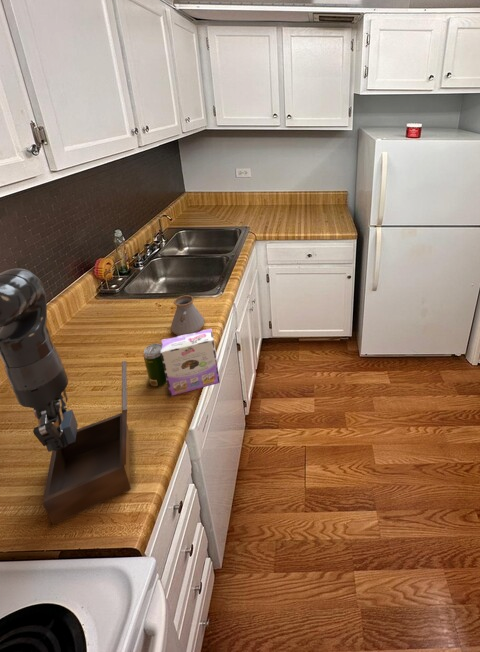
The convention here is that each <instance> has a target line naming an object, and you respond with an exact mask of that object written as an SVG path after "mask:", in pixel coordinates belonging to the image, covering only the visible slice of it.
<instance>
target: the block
mask: <svg viewBox="0 0 480 652" xmlns="http://www.w3.org/2000/svg"><path fill="white" fill-rule="evenodd" d="M62 414H63V421H62V423H61V424H62V428H63V432H64V434H65V437H66V439H67V442H68V443H67V445H68V444H71V443H73V442H75V441H76V433H77V429H78V427H79V426H78V421H77V419H76V416H75V413H74V410H73V409H70V410H67V411H66V412H63V413H62ZM57 418H58V417H56V418H54V419H52V420H55V419H57ZM52 420H49V421H52ZM55 427H56V426H55ZM56 429H57V427H56ZM45 447H46V449H47V452H52V450H53V448H52V446H51V444H48V445H46V446H45Z"/></svg>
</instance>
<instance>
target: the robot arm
mask: <svg viewBox="0 0 480 652" xmlns="http://www.w3.org/2000/svg"><path fill="white" fill-rule="evenodd" d="M47 322H48V306H47V293H46V289H45V286H44V283H43V282H42V279H40V278H39V276H38V275H36V274H35V273H34V272H32V271H31V270H28V269H25V268H21V267H20V268H11V269H7V270H5V271H2V272H0V358H1V361H2V363H3V365H4V370H5V373H6V377H7V379H8V382H9V384H10V386H11V388H12V390H13V393H14V395H15V398H16V400H17V402H18V404H19V405H20V406H21V407H24V408H29V409H33V415H34V418H36V420H37V424H38V426H35V427H33V430H32V433H33V435H34V436H35V437H36V438H37V440H38V441H39V442H40V443H41V445H42V446H43V447H46V445H48V444H51V446H52V448H53V450H54V451H57V450H60V449H63V448H65V447H67V443H68V442H67V439H66V437H65V434H64V432H63V428H62V424H61V423H62V421H63V414H62V413H63V412H66V411H68V406H67V403H68V400H69V398H68V396H67V391H66V388H67V387H68V385H69V378H68V375H67V373H66V369H65V367H64V364H63V361H62V357H61V356H60V353H59V351H58V349H57V348H56V345H55V344H54V341H53V338H52V336H51V333H50V330H49V328H48V323H47ZM56 417H58V418H57V419H55V420H52V419H54V418H56ZM49 420H52V421H49ZM55 426H56V427H57V429H56V427H55Z"/></svg>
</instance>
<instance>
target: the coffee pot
mask: <svg viewBox="0 0 480 652" xmlns="http://www.w3.org/2000/svg"><path fill="white" fill-rule="evenodd" d="M194 300H195V299H194V296H193V295H190V294H186V295H181V296H179V297H176V299H175V300H174V301H173V304H174V305H175V306H176V309H175V312H174V315H173V318H172V321H171V325H170V330H171V331H172V333H173V334H174V335H176V336H181V335H186V334H190V333H195V332H199V331H202V329H203V326H204V325H205V317H204V316H203V315H202V314H201V312H200V311H199V309H198V308H197V306H195V304H194Z"/></svg>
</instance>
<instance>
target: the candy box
mask: <svg viewBox="0 0 480 652" xmlns="http://www.w3.org/2000/svg"><path fill="white" fill-rule="evenodd" d="M214 339H215V338H214V333H213V329H212V328H208V329H204V330H200V331H199V332H195V333H190V334H186V335H181V336H178V335H176V336H173V337H168V338H164V339H163V338H162V339H161V343H160V344H161V357H162V362H163V366H164V371H165V375H166V380H167V382H166V384H167V388H168V394H169V396H170V397H171V396H175V395H176V396H177V395H180V394H184V393H187V392H191V391H195V390H199V389H203V388H206V387H209V386H214V385H218V384H220V381H221V380H220V373H219V366H218V365H219V364H218V359H217V350H216V344H215V340H214Z"/></svg>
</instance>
